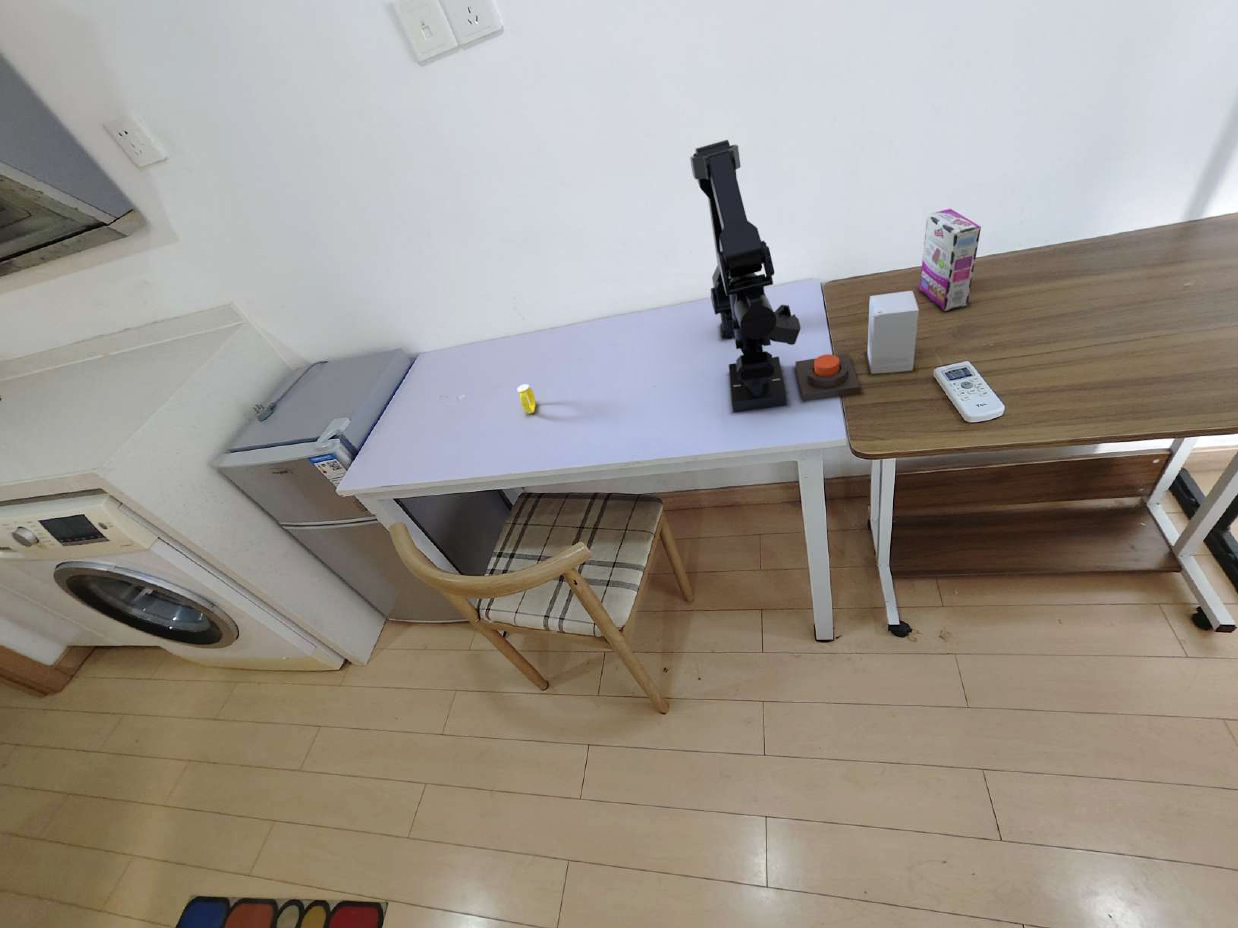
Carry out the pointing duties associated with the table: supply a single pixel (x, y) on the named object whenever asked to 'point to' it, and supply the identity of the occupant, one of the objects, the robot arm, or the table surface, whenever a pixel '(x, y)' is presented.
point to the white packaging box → (892, 332)
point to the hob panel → (770, 394)
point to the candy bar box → (949, 258)
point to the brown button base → (827, 380)
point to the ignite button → (826, 365)
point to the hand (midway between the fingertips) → (756, 381)
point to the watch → (523, 392)
